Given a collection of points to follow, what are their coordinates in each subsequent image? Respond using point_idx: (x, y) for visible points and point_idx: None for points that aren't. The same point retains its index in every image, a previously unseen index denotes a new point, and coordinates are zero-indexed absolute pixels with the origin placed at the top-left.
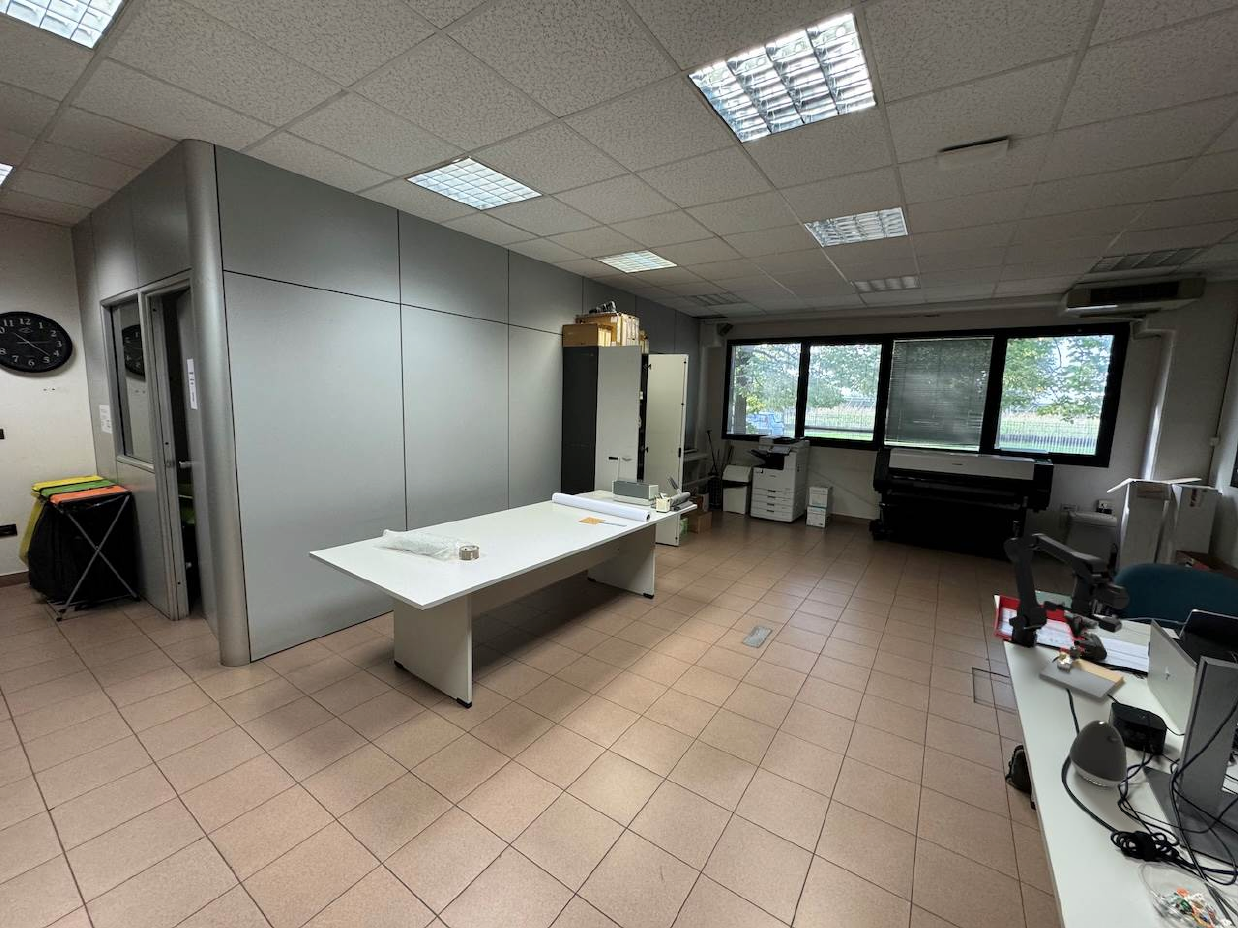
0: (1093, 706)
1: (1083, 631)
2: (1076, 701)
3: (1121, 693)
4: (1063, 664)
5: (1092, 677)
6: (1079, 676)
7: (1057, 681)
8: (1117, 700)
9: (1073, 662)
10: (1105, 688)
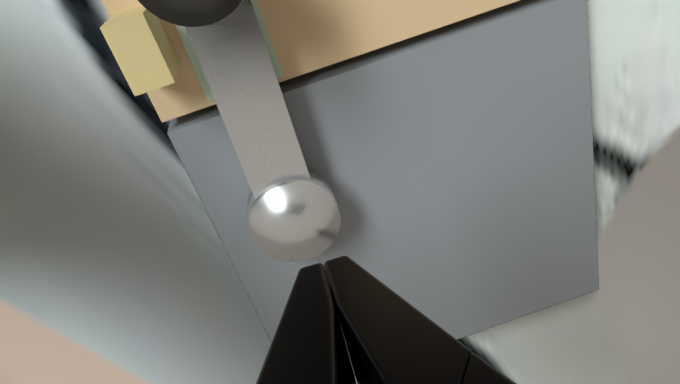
0: (578, 327)
1: (453, 349)
2: (519, 366)
3: (615, 25)
4: (309, 242)
5: (462, 102)
6: (416, 190)
7: None
8: (627, 148)
9: (272, 64)
10: (575, 160)
